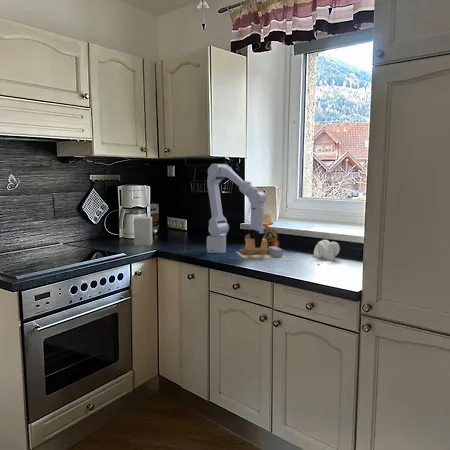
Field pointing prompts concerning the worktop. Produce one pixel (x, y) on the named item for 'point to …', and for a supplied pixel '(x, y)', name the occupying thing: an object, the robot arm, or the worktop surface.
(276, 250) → the pale grey rectangular block
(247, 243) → the orange block
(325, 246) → the pretzel
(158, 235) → the worktop surface
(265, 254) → the jig
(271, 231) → the toy helicopter
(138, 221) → the supplement box
